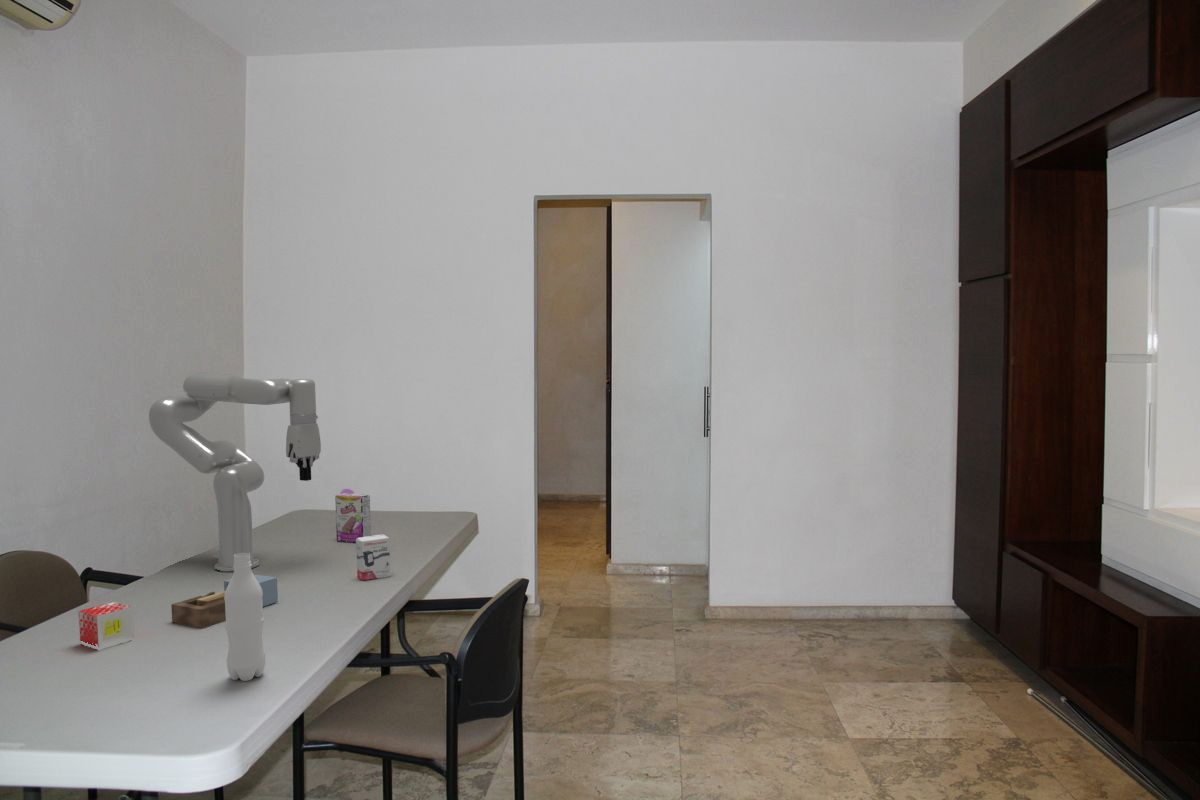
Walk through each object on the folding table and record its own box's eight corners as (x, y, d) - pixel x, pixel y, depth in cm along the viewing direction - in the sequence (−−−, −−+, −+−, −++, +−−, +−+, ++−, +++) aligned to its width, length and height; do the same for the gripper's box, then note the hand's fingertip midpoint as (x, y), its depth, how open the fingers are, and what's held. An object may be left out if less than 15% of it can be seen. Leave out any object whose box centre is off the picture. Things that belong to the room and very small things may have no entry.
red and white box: (98, 651, 189) (97, 616, 188) (80, 645, 193) (78, 611, 193) (134, 640, 196) (132, 606, 195) (115, 634, 200) (114, 601, 199)
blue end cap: (224, 605, 221) (223, 580, 221) (250, 597, 228) (249, 573, 228) (252, 610, 217) (251, 585, 216) (277, 601, 224) (276, 577, 223)
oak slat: (197, 619, 211) (196, 599, 211) (251, 602, 225) (250, 583, 225) (208, 621, 209) (207, 601, 209) (261, 604, 223) (260, 585, 223)
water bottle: (234, 671, 175) (229, 551, 174) (270, 669, 176) (265, 549, 174) (222, 684, 168) (216, 559, 167) (259, 682, 168) (254, 558, 167)
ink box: (362, 581, 243) (360, 540, 243) (356, 577, 247) (355, 537, 247) (391, 576, 248) (389, 536, 247) (385, 573, 252) (384, 533, 251)
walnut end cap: (170, 622, 208) (169, 604, 208) (213, 608, 219) (212, 591, 219) (203, 628, 203) (203, 610, 203) (245, 614, 214) (244, 596, 213)
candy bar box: (335, 542, 296) (334, 495, 295) (344, 539, 300) (343, 493, 299) (363, 543, 292) (361, 496, 291) (371, 540, 297) (370, 494, 296)
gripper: (312, 417, 265) (315, 476, 266) (274, 421, 252) (277, 483, 253) (330, 418, 262) (332, 477, 263) (293, 422, 249) (295, 484, 250)
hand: (305, 480), depth 258 cm, fingers closed
